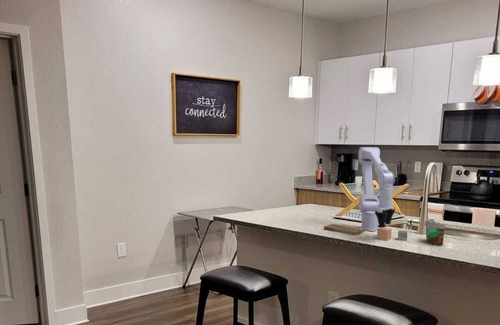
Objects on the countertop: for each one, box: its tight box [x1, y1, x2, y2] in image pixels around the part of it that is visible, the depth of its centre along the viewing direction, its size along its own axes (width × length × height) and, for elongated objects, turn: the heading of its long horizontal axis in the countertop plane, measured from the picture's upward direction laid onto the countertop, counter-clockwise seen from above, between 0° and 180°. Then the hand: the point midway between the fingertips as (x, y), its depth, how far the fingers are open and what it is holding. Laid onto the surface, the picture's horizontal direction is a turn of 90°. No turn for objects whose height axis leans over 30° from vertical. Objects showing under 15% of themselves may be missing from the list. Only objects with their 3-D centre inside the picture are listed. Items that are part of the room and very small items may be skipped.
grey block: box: [397, 229, 408, 242], centre depth 183 cm, size 4×4×4 cm
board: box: [323, 223, 365, 236], centre depth 199 cm, size 10×18×2 cm, turn 49°
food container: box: [423, 218, 446, 246], centre depth 178 cm, size 12×6×10 cm, turn 178°
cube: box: [376, 227, 393, 242], centre depth 184 cm, size 5×5×5 cm
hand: (384, 225), depth 184 cm, fingers open, 7 cm apart
